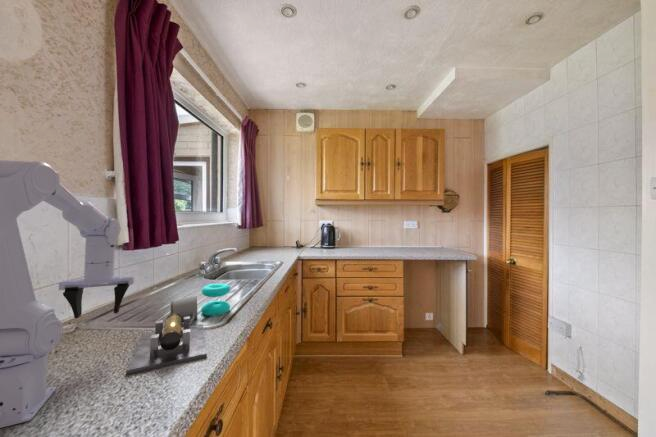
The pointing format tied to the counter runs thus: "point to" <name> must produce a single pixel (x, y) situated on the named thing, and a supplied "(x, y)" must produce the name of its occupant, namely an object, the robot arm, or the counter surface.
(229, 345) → the counter surface
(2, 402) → the robot arm
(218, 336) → the counter surface
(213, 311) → the donuts
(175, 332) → the brass tube
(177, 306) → the ceramic mug
